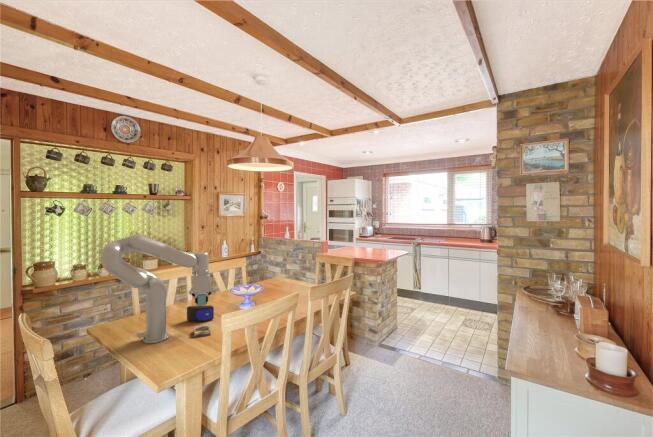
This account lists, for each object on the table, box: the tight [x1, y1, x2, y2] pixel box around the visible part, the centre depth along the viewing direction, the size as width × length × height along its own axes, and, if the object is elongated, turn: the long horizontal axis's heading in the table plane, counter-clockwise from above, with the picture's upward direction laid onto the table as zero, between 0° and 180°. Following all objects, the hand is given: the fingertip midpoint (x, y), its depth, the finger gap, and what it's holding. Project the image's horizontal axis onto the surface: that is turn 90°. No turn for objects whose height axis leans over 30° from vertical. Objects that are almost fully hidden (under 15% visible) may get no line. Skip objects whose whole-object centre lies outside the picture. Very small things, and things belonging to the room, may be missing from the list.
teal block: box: [197, 293, 207, 306], centre depth 172 cm, size 4×4×6 cm
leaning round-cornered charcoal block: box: [186, 304, 215, 323], centre depth 184 cm, size 16×5×9 cm, turn 98°
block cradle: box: [192, 324, 211, 338], centre depth 166 cm, size 9×9×2 cm
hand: (201, 303), depth 172 cm, fingers closed on teal block, 4 cm apart
